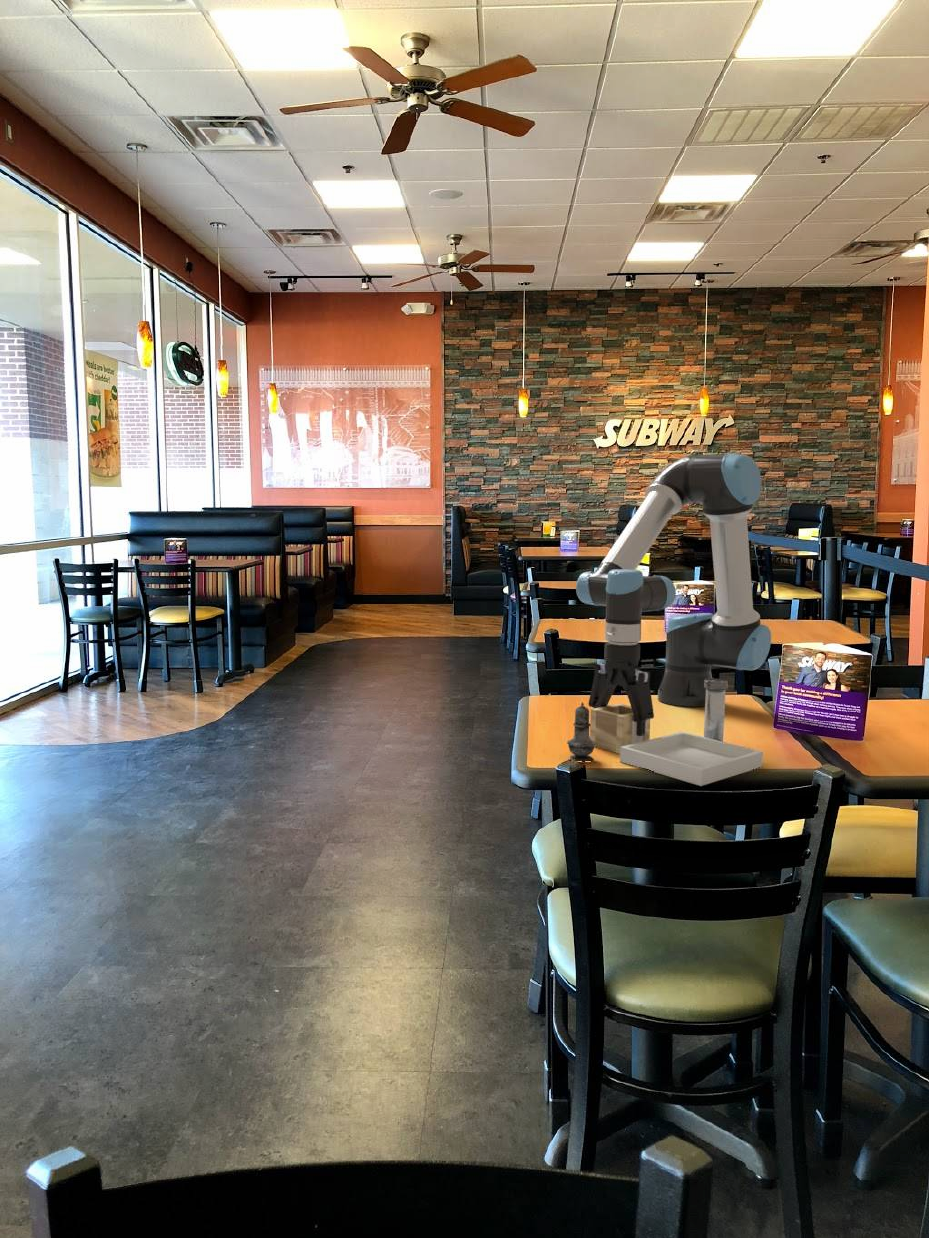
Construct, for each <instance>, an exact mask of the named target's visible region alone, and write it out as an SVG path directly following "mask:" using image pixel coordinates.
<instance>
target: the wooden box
mask: <svg viewBox="0 0 929 1238" xmlns="http://www.w3.org/2000/svg"><path fill="white" fill-rule="evenodd" d="M634 719H635V717H634V714H633V711H632V708H631V705H626V704H623V703H615V704H610V705H609V704H608V705H607V706H604V707H599V708H590V718H589V724H591V726H589V737H590V739H591V740H592V741H594V742H596V745H595V746H594V748H599V749H603V750H605V751H609V752H611V753H615V752H616V754H618V755H620V747H622V746H626V745H630V744H631V737H632V721H633V720H634ZM650 739H651V719H647V720H646V723H645V735H643V740H642V741H646V740H650Z"/></svg>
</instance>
